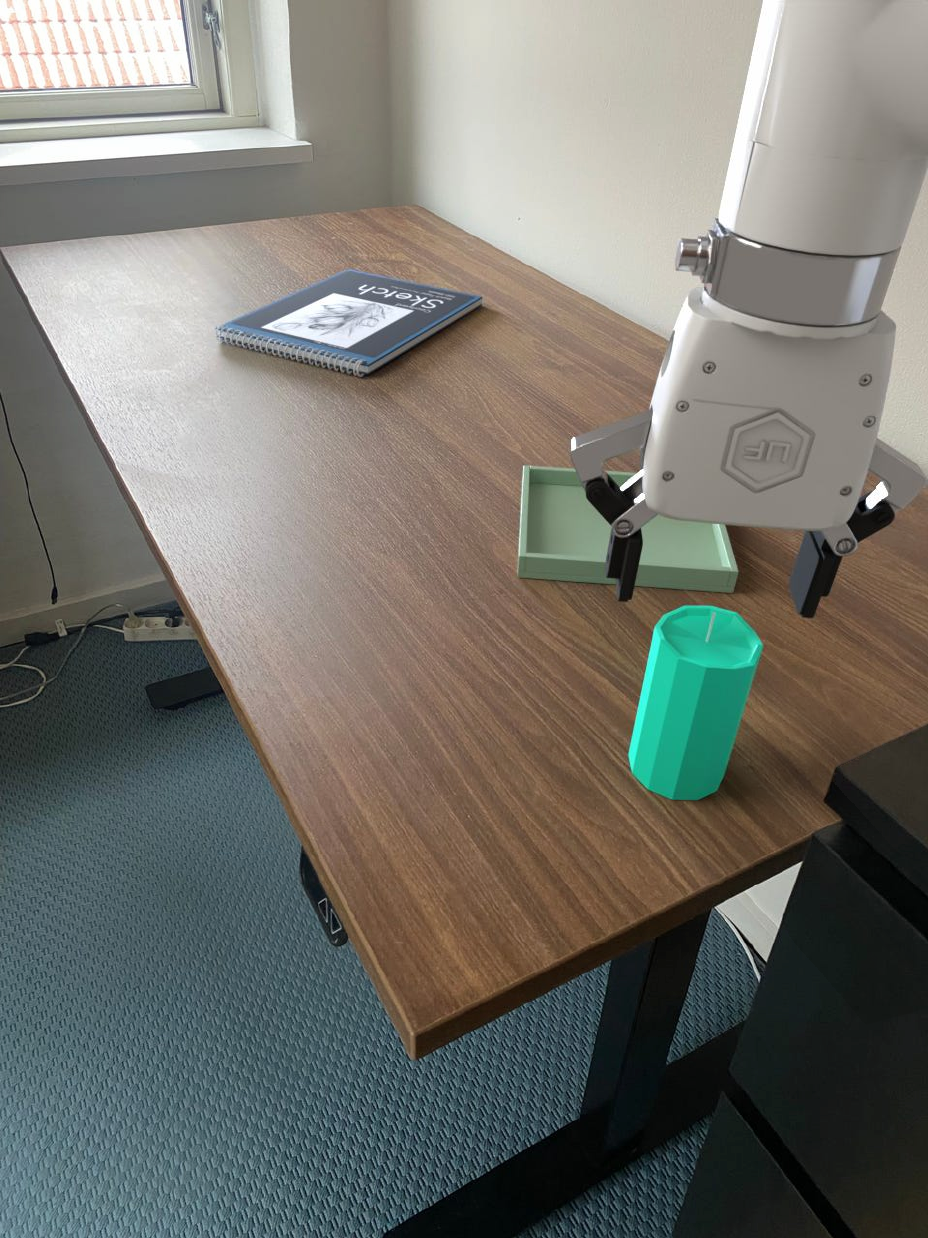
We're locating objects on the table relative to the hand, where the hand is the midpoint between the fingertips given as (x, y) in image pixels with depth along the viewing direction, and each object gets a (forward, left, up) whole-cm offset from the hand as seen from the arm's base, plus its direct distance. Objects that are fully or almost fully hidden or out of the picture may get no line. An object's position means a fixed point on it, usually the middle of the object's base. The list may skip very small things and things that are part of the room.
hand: (710, 594), depth 50 cm
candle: (0, 0, -13) cm, 13 cm away
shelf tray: (+2, -27, -13) cm, 30 cm away
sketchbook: (+33, -74, -13) cm, 82 cm away
